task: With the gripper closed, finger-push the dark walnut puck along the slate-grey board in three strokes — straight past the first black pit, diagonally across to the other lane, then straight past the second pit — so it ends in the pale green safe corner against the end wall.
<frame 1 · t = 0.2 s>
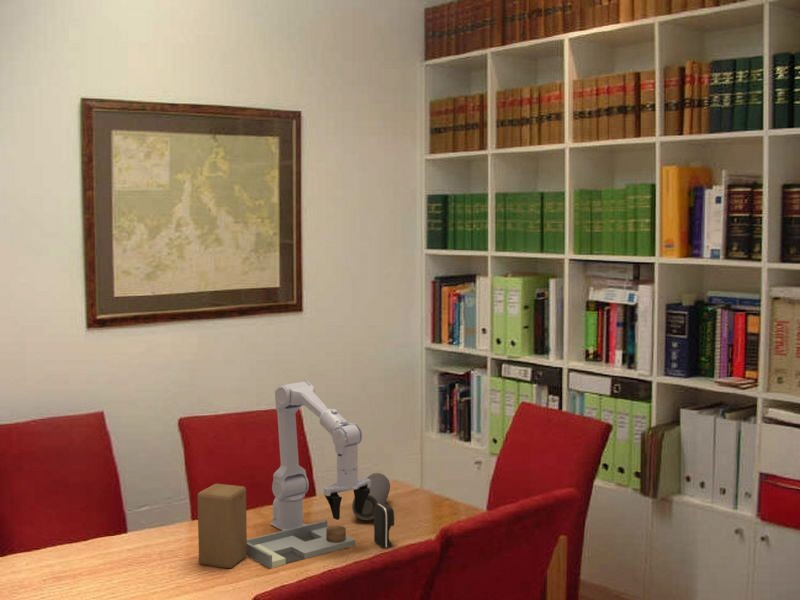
hand: (347, 515, 275), 10 cm above the table, tool pointing down, fingers open, 7 cm apart
puck: (336, 539, 280), point 2 cm above the table, touching trap board
bluetooth speaker: (371, 513, 309), on the table
wooden block: (223, 561, 268), on the table
battery charger: (384, 545, 280), on the table
trap board: (300, 549, 277), on the table
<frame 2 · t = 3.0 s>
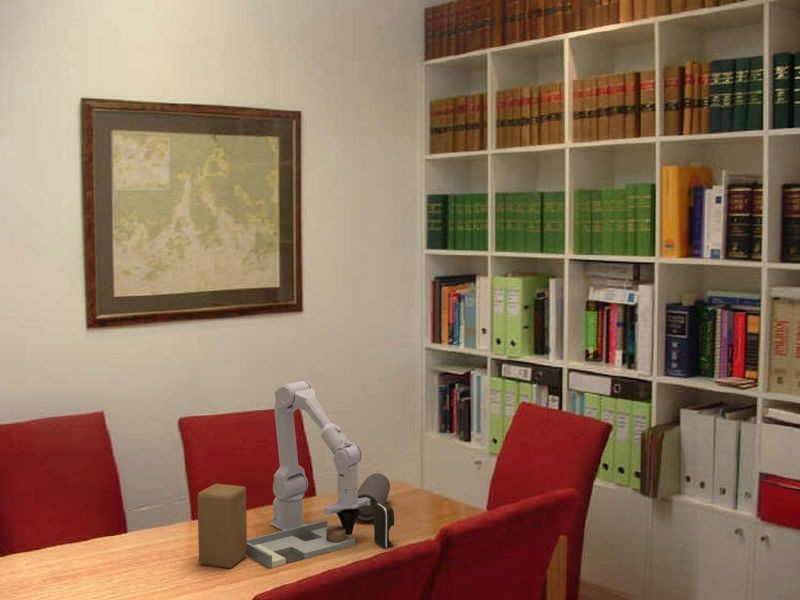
hand: (347, 534, 282), 2 cm above the table, tool pointing down, fingers closed
puck: (336, 539, 280), point 2 cm above the table, touching gripper, trap board
everything else where it was.
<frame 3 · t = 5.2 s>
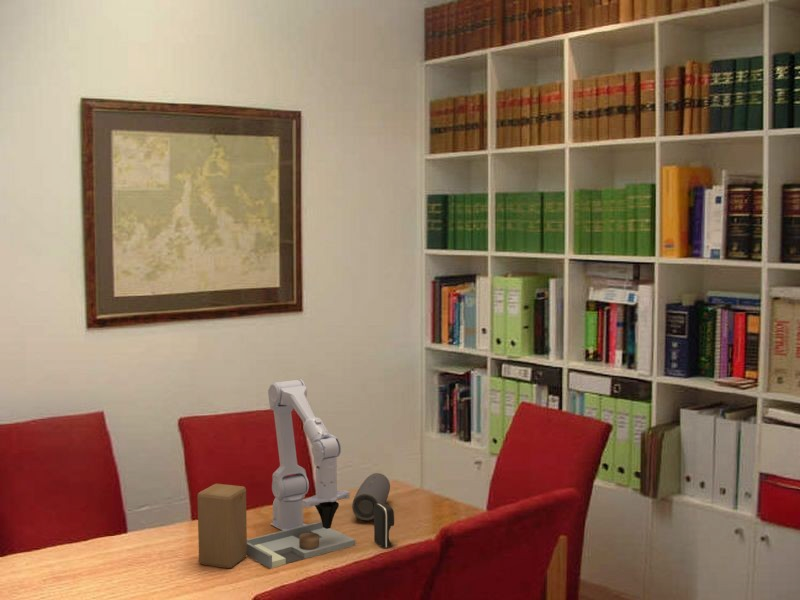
hand: (326, 527, 278), 6 cm above the table, tool pointing down, fingers closed
puck: (309, 546, 274), point 2 cm above the table, touching trap board
everything else where it was.
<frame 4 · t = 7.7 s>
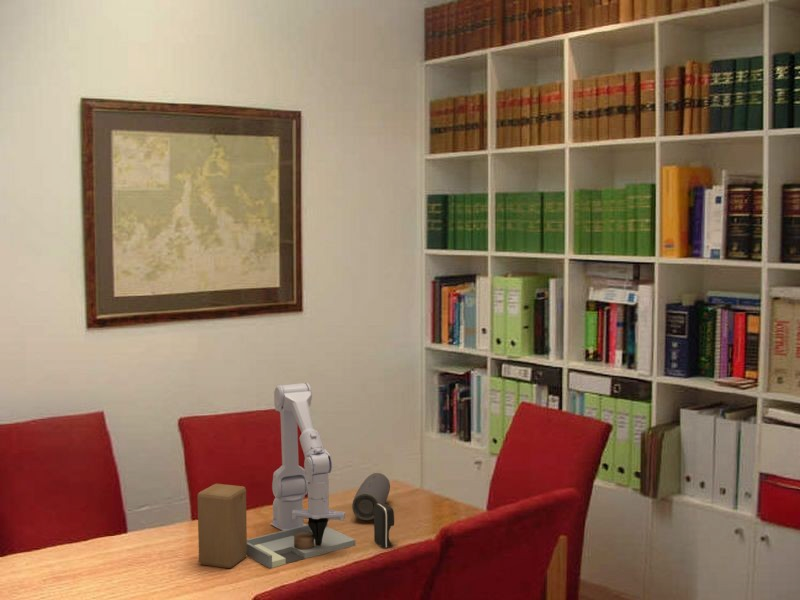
hand: (318, 544, 274), 2 cm above the table, tool pointing down, fingers closed
puck: (304, 546, 274), point 2 cm above the table, touching gripper
everything else where it was.
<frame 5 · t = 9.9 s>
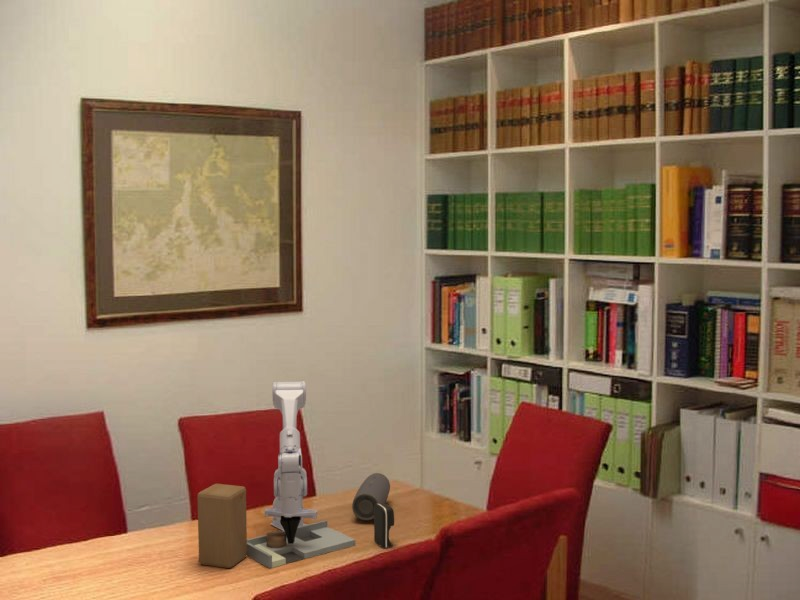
hand: (291, 542, 275), 2 cm above the table, tool pointing down, fingers closed
puck: (276, 544, 276), point 2 cm above the table, touching trap board
everything else where it was.
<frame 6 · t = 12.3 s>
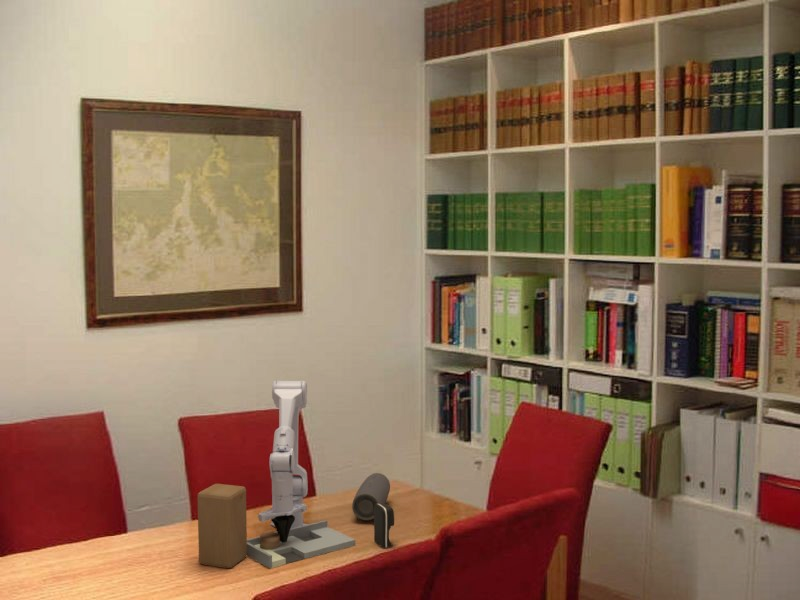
hand: (283, 541, 277), 2 cm above the table, tool pointing down, fingers closed
puck: (269, 546, 274), point 2 cm above the table, touching gripper, trap board
everything else where it was.
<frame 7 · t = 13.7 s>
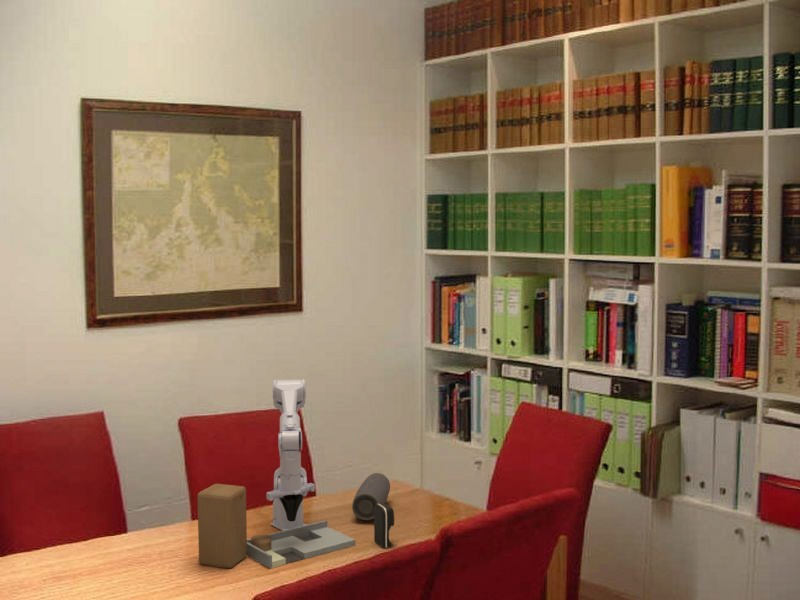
hand: (291, 520, 276), 8 cm above the table, tool pointing down, fingers closed
puck: (261, 548, 273), point 2 cm above the table, touching trap board
everything else where it was.
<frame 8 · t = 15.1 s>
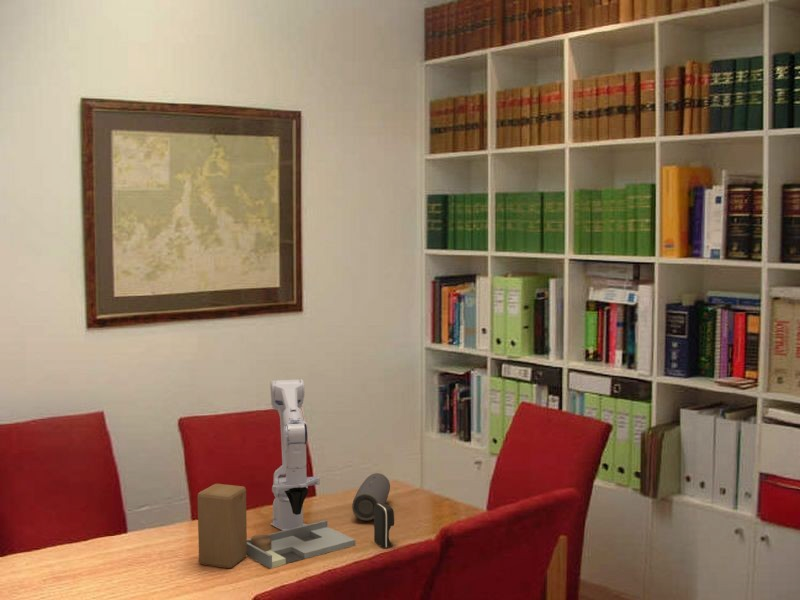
hand: (296, 513, 277), 10 cm above the table, tool pointing down, fingers closed
nothing on the table moved.
at the end: puck inside the target area (0.7 cm from its centre), point 1.6 cm above the table; puck tilted 0° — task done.
